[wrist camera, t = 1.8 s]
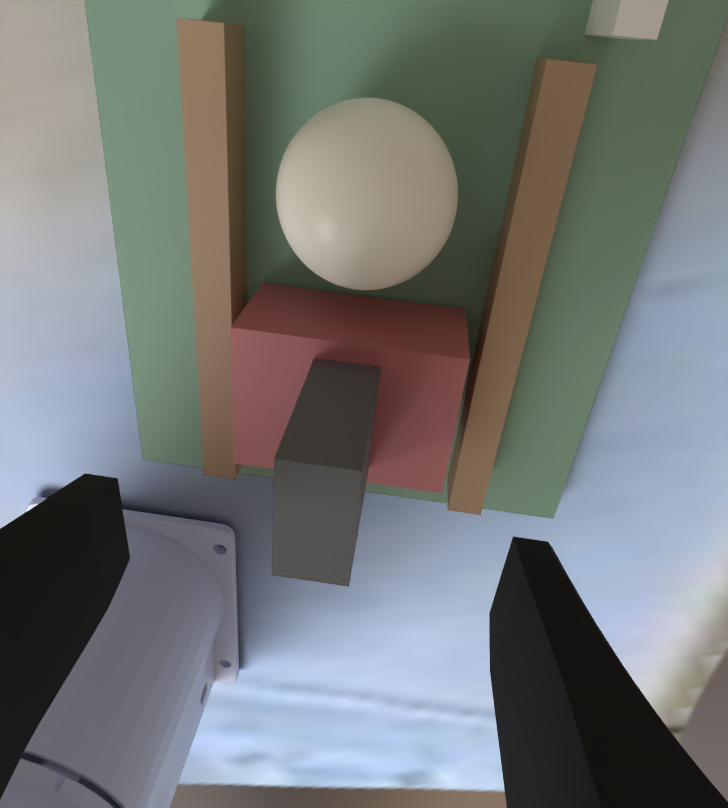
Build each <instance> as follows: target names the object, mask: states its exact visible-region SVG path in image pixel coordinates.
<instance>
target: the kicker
mask: <svg viewBox="0 0 728 808" xmlns="http://www.w3.org/2000/svg"><path fill="white" fill-rule="evenodd" d="M230 336H231V373H232V411H233V449H234V464H241V465H248V466H254V467H261V468H268V469H274V484H273V541H272V575H276V576H283V577H290V578H296V579H303V580H309V581H316V582H323V583H329V584H336V585H342V586H349V582H350V576H351V570H352V564H353V558H354V552H355V546H356V540H357V534H358V528H359V522H360V516H361V510H362V505H363V499H364V493H365V487H366V483H373V484H380V485H387V486H394V487H401V488H408V489H415V490H422V491H429V492H436V493H442V490H443V486H444V481H445V476H446V471H447V467H448V462H449V457H450V452H451V448H452V443H453V438H454V433H455V429H456V424H457V419H458V414H459V409H460V405H461V400H462V395H463V390H464V386H465V381H466V376H467V371H468V367H469V362H470V354H469V343H468V331H467V320H466V309H461V308H454V307H446V306H438V305H430V304H423V303H415V302H407V301H400V300H392V299H384V298H376V297H369V296H361V295H353V294H346V293H338V292H330V291H322V290H315V289H307V288H299V287H292V286H284V285H276V284H268V283H262V284H261V286H260V287H259V288H258V290H257V291H256V293H255V294H254V295H253V297H252V298H251V300H250V301H249V302H248V304H247V305H246V306H245V308H244V309H243V311H242V312H241V313H240V315H239V316H238V318H237V319H236V320H235V322H234V323H233V324H232V326H231V327H230Z"/></svg>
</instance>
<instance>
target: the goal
mask: <svg viewBox="0 0 728 808" xmlns="http://www.w3.org/2000/svg"><path fill="white" fill-rule="evenodd" d="M668 1H669V0H593V2H592V6H591V10H590V14H589V18H588V22H587V27H586V31H585V35H590V36H599V37H608V38H617V39H645V40H657V38H658V34H659V31H660V28H661V24H662V21H663V18H664V14H665V11H666V8H667V4H668Z"/></svg>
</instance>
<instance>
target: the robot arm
mask: <svg viewBox="0 0 728 808" xmlns="http://www.w3.org/2000/svg"><path fill="white" fill-rule="evenodd" d="M219 545H222V546H224V547H221V546H219ZM490 673H491V682H492V690H493V699H494V707H495V715H496V723H497V731H498V739H499V747H500V755H501V763H502V771H503V779H504V787H505V795H506V803H507V808H728V802H727V801H726V800H725V798H724V797H723V796H722V795H721V794H720V792H719V791H718V790H717V789H716V788H715V786H714V785H712V783H711V782H710V781H709V779H708V778H707V777H706V776H705V775H704V774H703V772H702V771H701V770H700V768H699V767H698V766H697V765H696V763H695V762H694V761H693V760H692V758H691V757H690V756H689V755H688V754H687V752H686V751H685V750H684V749H683V747H682V746H681V745H680V744H679V742H678V741H677V740H676V738H675V737H674V736H673V734H672V733H671V732H670V731H669V729H668V728H667V727H666V725H665V724H664V723H663V721H662V720H661V718H660V717H659V716H658V714H657V713H656V712H655V710H654V709H653V708H652V706H651V705H650V703H649V702H648V701H647V699H646V698H645V696H644V695H643V694H642V692H641V691H640V689H639V688H638V686H637V685H636V684H635V682H634V681H633V679H632V678H631V676H630V675H629V673H628V672H627V671H626V669H625V668H624V666H623V665H622V663H621V662H620V660H619V659H618V657H617V655H616V654H615V652H614V651H613V649H612V648H611V646H610V645H609V643H608V641H607V640H606V638H605V637H604V635H603V634H602V632H601V631H600V629H599V627H598V626H597V624H596V623H595V621H594V619H593V618H592V616H591V614H590V613H589V611H588V609H587V608H586V606H585V604H584V603H583V601H582V599H581V598H580V596H579V594H578V592H577V591H576V589H575V587H574V586H573V584H572V582H571V580H570V579H569V577H568V575H567V573H566V572H565V570H564V568H563V566H562V564H561V563H560V561H559V559H558V557H557V555H556V554H555V552H554V550H553V548H552V547H551V545H550V544H549V543H548V542H546V541H539V540H532V539H526V538H519V537H513V539H512V542H511V545H510V549H509V552H508V555H507V558H506V562H505V565H504V568H503V571H502V575H501V578H500V581H499V584H498V588H497V591H496V594H495V597H494V601H493V604H492V607H491V610H490ZM238 674H239V653H238V616H237V579H236V542H235V533H234V531H233V530H232V528H230V527H229V526H227V525H224V524H219V523H213V522H206V521H199V520H192V519H186V518H179V517H172V516H165V515H159V514H152V513H145V512H138V511H132V510H125V509H122V503H121V497H120V491H119V485H118V478H111V477H105V476H98V475H91V474H84V475H82V476H81V477H79V478H77V479H76V480H74V481H73V482H71V483H70V484H68V485H66V486H65V487H63V488H62V489H60V490H59V491H57V492H56V493H54V494H53V495H51V496H50V497H48V498H44V497H36V498H34V499H32V500H31V502H30V503H29V504H28V505H27V512H26V513H24V514H23V515H21V516H20V517H18V518H16V519H15V520H13V521H12V522H10V523H9V524H7V525H6V526H4V527H3V528H1V529H0V808H169V807H170V804H171V801H172V799H173V796H174V793H175V790H176V787H177V785H178V782H179V779H180V776H181V773H182V770H183V768H184V765H185V762H186V759H187V756H188V753H189V750H190V748H191V745H192V742H193V739H194V736H195V733H196V731H197V728H198V725H199V722H200V719H201V716H202V714H203V711H204V708H205V705H206V702H207V699H208V697H209V694H210V691H211V688H212V685H213V682H218V683H224V684H232V683H234V682H236V681H237V677H238Z"/></svg>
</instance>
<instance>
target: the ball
mask: <svg viewBox="0 0 728 808" xmlns="http://www.w3.org/2000/svg"><path fill="white" fill-rule="evenodd" d="M457 203H458V183H457V176H456V171H455V167H454V164H453V160H452V158H451V156H450V153H449V151H448V149H447V147H446V145H445V143H444V142H443V140H442V139H441V137H440V135H439V134H438V133H437V132H436V130H435V129H434V128H433V127H432V126H431V125H430V124H429V123H428V122H427V121H426V120H425V119H424V118H423V117H421V116H420V115H419V114H417V113H416V112H414V111H413V110H411V109H409V108H407V107H405V106H404V105H402V104H399V103H396V102H393V101H390V100H385V99H380V98H366V97H365V98H355V99H349V100H345V101H341V102H338V103H335V104H333V105H331V106H328V107H326V108H325V109H323V110H321V111H320V112H318V113H316V114H315V115H314V116H313V117H312V118H310V119H309V120H308V121H307V122H306V123H305V124H304V125H303V126H302V127H301V128H300V129H299V130H298V132H297V133H296V134H295V136H294V137H293V139H292V140H291V142H290V143H289V145H288V147H287V149H286V151H285V153H284V155H283V158H282V161H281V164H280V167H279V172H278V176H277V184H276V206H277V212H278V217H279V221H280V224H281V227H282V230H283V232H284V234H285V237H286V239H287V241H288V243H289V244H290V246H291V248H292V249H293V251H294V252H295V254H296V255H297V256H298V257H299V259H300V260H301V261H302V262H303V263H304V264H305V265H306V266H307V267H308V268H309V269H311V270H312V271H313V272H314V273H315V274H317V275H319V276H320V277H322V278H323V279H325V280H327V281H329V282H331V283H333V284H336V285H339V286H342V287H345V288H350V289H355V290H377V289H383V288H388V287H391V286H394V285H397V284H400V283H402V282H404V281H406V280H409V279H410V278H412V277H414V276H415V275H417V274H418V273H420V272H421V271H422V270H423V269H424V268H425V267H427V266H428V265H429V264H430V263H431V261H432V260H433V259H434V258H435V257H436V256H437V255H438V253H439V252H440V250H441V249H442V248H443V246H444V244H445V242H446V241H447V239H448V237H449V235H450V232H451V229H452V227H453V224H454V220H455V216H456V211H457Z"/></svg>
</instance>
